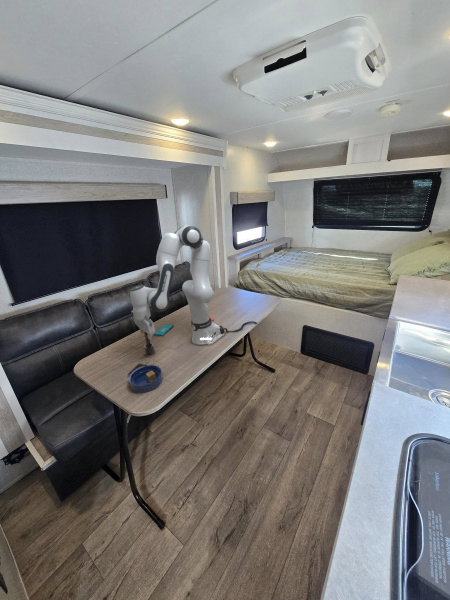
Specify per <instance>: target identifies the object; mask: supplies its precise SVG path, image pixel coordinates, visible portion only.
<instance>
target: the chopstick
mask: <svg viewBox="0 0 450 600" xmlns="http://www.w3.org/2000/svg"><path fill="white" fill-rule="evenodd" d="M143 334H144V339H145V345H146V344H147V347H151V344H150V343H151V339H148V337H147V336H148V334H147V333H146V332H145V331H144V333H143Z"/></svg>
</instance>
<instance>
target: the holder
mask: <svg viewBox="0 0 450 600" xmlns="http://www.w3.org/2000/svg"><path fill="white" fill-rule="evenodd" d="M150 344H151V347H147V344H146V343H145V344H144V346H143V347H144V352H145V355H146V356H149V357H150V356H152V355H154V354H155V346H154V343H152V342H150Z"/></svg>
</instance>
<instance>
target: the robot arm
mask: <svg viewBox="0 0 450 600" xmlns="http://www.w3.org/2000/svg"><path fill="white" fill-rule="evenodd" d="M183 246H185V247H189V248H190V251H191V254H190V263H189V265H190V266H189V273H190V275H191V277H192V279H189V280H185V281H184V282H183V284H182V286H181V287H182V288H181V290H182V292H183V294H184V295H185V298H186V301H187V304H188V307H189V310H190V317H191V318H190V319H191V321H190V323H191V324H190V325H191V329H192V332H191V333H192V334H191V342H192V343H193V344H194V345H200V346H202V345H203V346H205V345H207V346H208V345H213V344H214V343H215V342H217V341H218V340H220V339H221V338H223V337H224V336H225V332H226V333H235V332H238V331H241V330H242V329H243V327H244V326H245V325H247V324H251V323H252V324H258V322H257V321H254V320H253V321H251V320H250V321H247V322H244V323H243V324H242V325H241V327H240V328H238V329H235V330H228V328H226V327H224V326H223V325H219V324H217V323H215V318H213V317H210V314H209V307H208V305H207V304H209V303H211V302H212V301H213V299H214V296H215V292H214V290H213V288H212V285H211V280H210V262H211V245H210V243H209V241H207V240H204V238H203V236H202V233H201V230H200V229H199V228H198V227H197V226H195V225H183V226H180V227H179V228H178V229H177V230H176V231H175V232H166V233H164V235H163V236H162V238H161V239H160V243H159V245H158V248H157V252H156V256H155V257H156V259H155V263H156V266H157V267H158V270H159V280H158V285H157V287H148V286H145V285H143V284H141V285H136V286H133V287H132V288H131V289H130V291H129V292H130V293H129V294H130V295H129V296H130V304H131V306H132V310H131V311H130V314H131V315H132V319H133V322H134V324H135V325H136V326H137V327H138V329H139V331H140V333H141V334H144V331H145V332H146V333H147V334H148V336H147V337H148V339H150V340H151V339H153V337H152V335H154V334H155V333H156V329H155V328H156V327H155V325H154V322H153V320H152V319H151V318H150V317H151V309H152V310H153V311H154V312H157V313H162V312H164V311H166V310H167V309H168V308H169V307H170V304H171V299H170V291H171V287H172V281H173V278H174V272H175V267H176V264H177V260H178V256H179V252H180V249H181V248H182V247H183ZM150 308H151V309H150ZM257 352H258V353H260V349H258V351H257Z"/></svg>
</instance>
